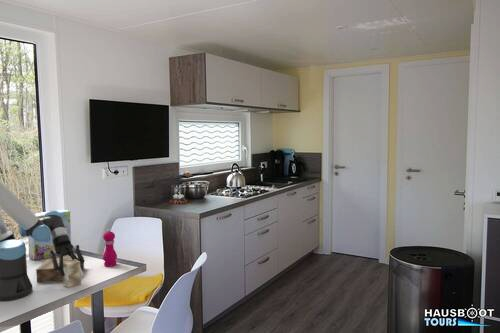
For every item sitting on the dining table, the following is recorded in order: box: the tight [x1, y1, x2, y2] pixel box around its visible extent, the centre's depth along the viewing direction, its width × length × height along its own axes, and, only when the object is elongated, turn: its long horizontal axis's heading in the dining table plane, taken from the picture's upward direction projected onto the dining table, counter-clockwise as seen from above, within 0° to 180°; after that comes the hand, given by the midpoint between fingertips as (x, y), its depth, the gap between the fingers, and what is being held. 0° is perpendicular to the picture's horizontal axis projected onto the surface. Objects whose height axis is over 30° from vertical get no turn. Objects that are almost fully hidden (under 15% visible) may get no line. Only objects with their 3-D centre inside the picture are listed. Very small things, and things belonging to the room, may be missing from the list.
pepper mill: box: [102, 228, 118, 268], centre depth 212 cm, size 7×7×20 cm
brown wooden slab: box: [35, 256, 85, 283], centre depth 199 cm, size 18×16×6 cm
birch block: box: [62, 259, 82, 288], centre depth 185 cm, size 6×6×11 cm
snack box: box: [27, 209, 72, 261], centre depth 230 cm, size 22×9×26 cm, turn 143°
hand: (74, 279), depth 183 cm, fingers closed on birch block, 6 cm apart
